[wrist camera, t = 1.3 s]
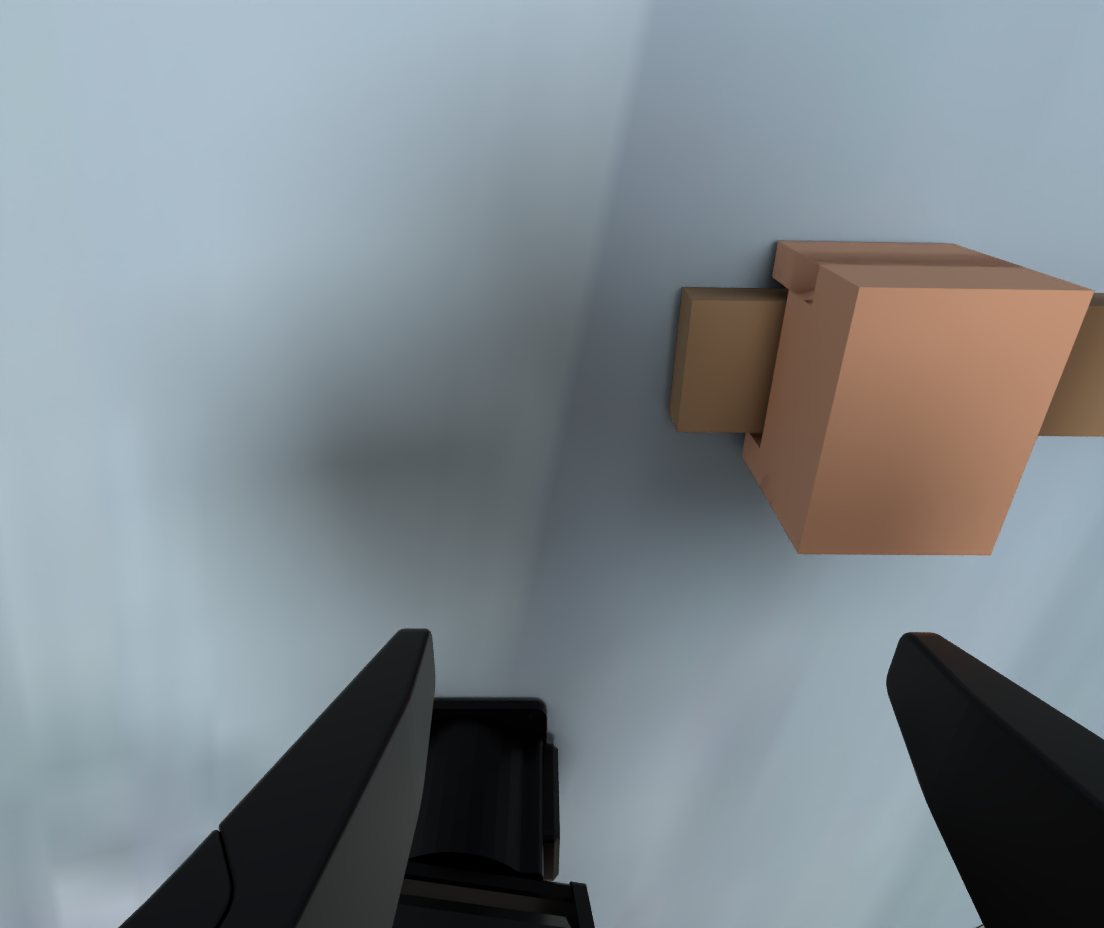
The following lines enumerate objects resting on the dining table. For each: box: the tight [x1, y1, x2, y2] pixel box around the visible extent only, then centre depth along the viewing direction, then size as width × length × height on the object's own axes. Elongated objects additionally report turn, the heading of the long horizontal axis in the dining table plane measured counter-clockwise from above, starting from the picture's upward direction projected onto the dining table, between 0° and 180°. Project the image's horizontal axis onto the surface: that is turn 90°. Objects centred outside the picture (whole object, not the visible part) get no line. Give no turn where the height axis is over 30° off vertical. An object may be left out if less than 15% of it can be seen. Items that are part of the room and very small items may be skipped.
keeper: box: [742, 241, 1094, 555], centre depth 18 cm, size 5×7×6 cm
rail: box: [669, 287, 1104, 437], centre depth 19 cm, size 20×7×5 cm, turn 89°
